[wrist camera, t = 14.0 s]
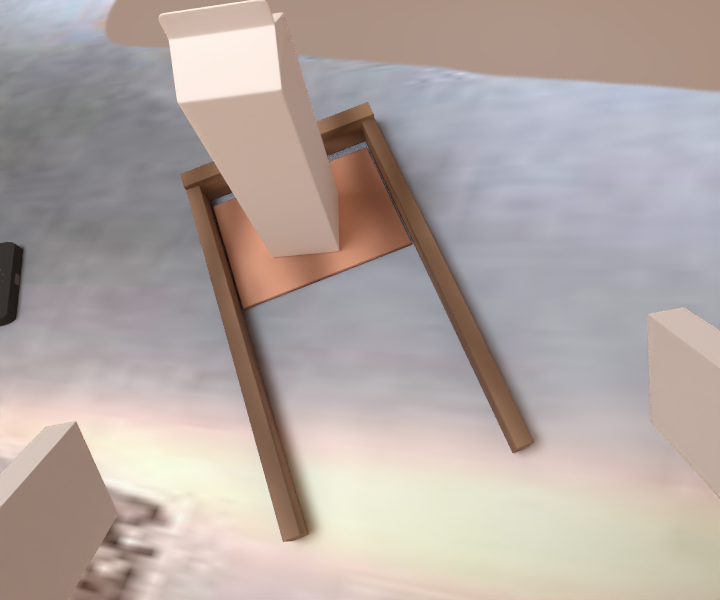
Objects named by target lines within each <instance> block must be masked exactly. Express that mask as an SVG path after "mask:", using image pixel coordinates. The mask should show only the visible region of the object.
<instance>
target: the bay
mask: <svg viewBox="0 0 720 600" xmlns="http://www.w3.org/2000/svg"><path fill="white" fill-rule="evenodd" d="M317 124H318V128H319V131H320V134H321V138H322V141H323V144H324V148H325V151H326V154H327V155H330V154H332V153H335V152H337V151H340V150H342V149H345V148H348V147H350V146H353V145H355V144H358V143H361V142H363V141H366V143H367V145H368V148H369V150H370V152H371V154H372V156H373V158H374V160H375V162H376V164H377V167H378V169H379V171H380V173H381V175H382V177H383V179H384V181H385V184H386V186H387V188H388V190H389V192H390V194H391V196H392V198H393V200H394V203H395V205H396V207H397V209H398V211H399V213H400V215H401V217H402V220H403V222H404V224H405V226H406V228H407V230H408V232H409V234H410V236H411V239H412V241H413V243H414V245H415V247H416V249H417V251H418V253H419V256H420V258H421V260H422V262H423V264H424V266H425V268H426V270H427V273H428V275H429V277H430V279H431V281H432V283H433V285H434V287H435V289H436V292H437V294H438V296H439V298H440V300H441V302H442V304H443V306H444V309H445V311H446V313H447V315H448V317H449V319H450V321H451V323H452V325H453V328H454V330H455V332H456V334H457V336H458V338H459V340H460V342H461V345H462V347H463V349H464V351H465V353H466V355H467V357H468V359H469V361H470V364H471V366H472V368H473V370H474V372H475V374H476V376H477V378H478V381H479V383H480V385H481V387H482V389H483V391H484V393H485V395H486V397H487V400H488V402H489V404H490V406H491V408H492V410H493V412H494V414H495V417H496V419H497V421H498V423H499V425H500V427H501V429H502V431H503V433H504V436H505V438H506V440H507V442H508V444H509V446H510V448H511V450H512V453H514V452H516V451H519V450H521V449H524V448H526V447H529V446H530V445H531V444H532V443H533V442H534V441H533V439H532V437H531V435H530V433H529V431H528V429H527V427H526V425H525V423H524V421H523V418H522V416H521V414H520V412H519V410H518V408H517V406H516V404H515V402H514V400H513V398H512V396H511V394H510V392H509V390H508V388H507V386H506V384H505V382H504V380H503V378H502V376H501V374H500V372H499V370H498V368H497V366H496V364H495V362H494V360H493V358H492V356H491V354H490V352H489V350H488V347H487V345H486V343H485V341H484V339H483V337H482V335H481V333H480V331H479V329H478V327H477V325H476V323H475V321H474V319H473V317H472V315H471V313H470V311H469V309H468V307H467V305H466V303H465V301H464V299H463V297H462V295H461V293H460V291H459V289H458V287H457V285H456V283H455V281H454V279H453V276H452V274H451V272H450V270H449V268H448V266H447V264H446V262H445V260H444V258H443V256H442V254H441V252H440V250H439V248H438V246H437V244H436V242H435V240H434V238H433V236H432V234H431V232H430V230H429V228H428V226H427V224H426V222H425V220H424V218H423V216H422V214H421V212H420V210H419V208H418V205H417V203H416V201H415V199H414V197H413V195H412V193H411V191H410V189H409V187H408V185H407V183H406V181H405V179H404V177H403V175H402V173H401V171H400V169H399V167H398V165H397V163H396V161H395V159H394V157H393V155H392V153H391V151H390V149H389V147H388V145H387V143H386V141H385V139H384V136H383V134H382V132H381V130H380V128H379V126H378V124H377V122H376V120H375V118H374V114H373V112H372V110H371V108H370V105H369V103H368V102H367V103H364V104H361V105H359V106H356V107H354V108H351V109H348V110H346V111H343V112H341V113H338V114H335V115H333V116H330V117H328V118H325V119H322V120H320V121H317ZM329 164H330V168H331V171H332V174H333V178H334V181H335V184H336V188H337V191H338V203H339V248H340V250H339V251H338V252H328V253H317V254H306V255H296V256H285V257H275V258H273V257H272V256H271V254H270V253H269V251H268V250H267V248H266V246H265V245H264V243H263V241H262V240H261V238H260V236H259V235H258V233H257V232H256V230H255V228H254V227H253V225H252V223H251V222H250V220H249V218H248V217H247V215H246V214H245V212H244V210H243V209H242V207H241V205H240V204H239V202H238V200H237V199H236V198H234V199H231V200H229V201H226V202H223V203H221V204H218V205H216V206H213V208H214V211H215V215H216V218H217V222H218V225H219V228H220V232H221V235H222V238H223V242H224V245H225V249H226V252H227V255H228V259H229V262H230V266H231V269H232V272H233V276H234V279H235V282H236V286H237V289H238V293H239V296H240V299H241V303H242V306H243V309H244V310H245V309H248V308H250V307H253V306H255V305H258V304H260V303H263V302H265V301H268V300H271V299H273V298H276V297H278V296H281V295H283V294H286V293H289V292H291V291H294V290H296V289H299V288H301V287H304V286H306V285H309V284H312V283H314V282H317V281H319V280H322V279H324V278H327V277H330V276H332V275H335V274H337V273H340V272H342V271H345V270H347V269H350V268H353V267H355V266H358V265H360V264H363V263H365V262H368V261H371V260H373V259H376V258H378V257H381V256H383V255H386V254H388V253H391V252H394V251H396V250H399V249H401V248H404V247H406V246H409V245H411V244H412V243H411V241H410V238H409V236H408V234H407V232H406V230H405V228H404V226H403V224H402V221H401V219H400V217H399V215H398V213H397V211H396V209H395V207H394V204H393V202H392V200H391V198H390V196H389V194H388V192H387V190H386V187H385V185H384V183H383V181H382V179H381V177H380V175H379V173H378V170H377V168H376V166H375V164H374V162H373V160H372V158H371V156H370V153H369V151H368V149H367V147H366V148H363V149H361V150H358V151H355V152H353V153H350V154H348V155H345V156H343V157H340V158H337V159H335V160H332V161H330V162H329ZM181 178H182V181H183V185H184V188H185V189H186V190H187V194H188V198H189V201H190V205H191V209H192V212H193V216H194V220H195V223H196V227H197V230H198V234H199V238H200V241H201V245H202V249H203V252H204V256H205V260H206V263H207V267H208V270H209V274H210V278H211V281H212V285H213V289H214V292H215V296H216V300H217V303H218V307H219V310H220V314H221V318H222V321H223V325H224V329H225V332H226V336H227V340H228V343H229V347H230V351H231V354H232V358H233V361H234V365H235V369H236V372H237V376H238V380H239V383H240V387H241V391H242V394H243V398H244V401H245V405H246V409H247V412H248V416H249V420H250V423H251V427H252V431H253V434H254V438H255V442H256V445H257V449H258V452H259V456H260V460H261V463H262V467H263V471H264V474H265V478H266V482H267V485H268V489H269V492H270V496H271V500H272V503H273V507H274V511H275V514H276V518H277V522H278V525H279V529H280V533H281V536H282V540H283V542H285V541H294V540H296V539H299V538H301V537H304V536H306V535H308V532H307V529H306V526H305V522H304V519H303V515H302V512H301V509H300V505H299V502H298V499H297V495H296V492H295V488H294V485H293V482H292V478H291V475H290V471H289V468H288V465H287V461H286V458H285V454H284V451H283V448H282V444H281V441H280V437H279V434H278V431H277V427H276V424H275V420H274V417H273V414H272V410H271V407H270V403H269V400H268V397H267V393H266V390H265V386H264V383H263V380H262V376H261V373H260V369H259V366H258V363H257V359H256V356H255V353H254V349H253V346H252V342H251V339H250V336H249V332H248V329H247V325H246V322H245V319H244V315H243V312H242V308H241V305H240V302H239V298H238V295H237V291H236V288H235V285H234V281H233V278H232V274H231V271H230V268H229V264H228V261H227V257H226V254H225V251H224V247H223V244H222V240H221V237H220V234H219V230H218V227H217V224H216V220H215V217H214V213H213V210H212V207H211V203H210V200H213V199H216V198H218V197H221V196H223V195H226V194H228V193H231V192H232V191H231V189H230V187H229V186H228V184H227V182H226V181H225V179H224V178H223V176H222V174H221V173H220V171H219V169H218V168H217V166H216V164H215V163H214V161H213V162H211V163H208V164H205V165H203V166H200V167H198V168H195V169H192V170H190V171H187V172H185V173H182V174H181Z"/></svg>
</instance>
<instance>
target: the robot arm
mask: <svg viewBox="0 0 720 600" xmlns="http://www.w3.org/2000/svg"><path fill="white" fill-rule="evenodd" d="M647 316H648V350H649V383H650V416H651V422H652V423H653V425H654V426H655V427H656V428H657V429H658V430H659V431H660V432H661V433H662V435H663V436H664V437H665V438H666V439H667V440H668V441H669V442H670V443H671V445H672V446H673V447H674V448H675V449H676V450H677V451H678V452H679V453H680V455H681V456H682V457H683V458H684V459H685V460H686V461H687V462H688V463H689V465H690V466H691V467H692V468H693V469H694V470H695V471H696V472H697V473H698V475H699V476H700V477H701V478H702V479H703V480H704V481H705V482H706V483H707V485H708V486H709V487H710V488H711V489H712V490H713V491H714V492H715V493H716V495H717V496H718V497H719V498H720V330H718V329H717V328H715V327H714V326H712V325H710V324H709V323H707V322H706V321H704V320H703V319H701V318H700V317H698V316H696V315H695V314H693V313H692V312H690V311H689V310H687V309H686V308H684V307H682V308H677V309H671V310H666V311H661V312H655V313H650V314H647ZM117 515H118V513H117V511H116V508H115V506H114V504H113V502H112V500H111V497H110V495H109V493H108V491H107V489H106V486H105V484H104V482H103V480H102V478H101V475H100V473H99V471H98V469H97V466H96V464H95V462H94V460H93V458H92V455H91V453H90V451H89V449H88V447H87V444H86V442H85V440H84V438H83V435H82V433H81V431H80V429H79V427H78V424H77V422H76V421H75V422H70V423H64V424H59V425H54V426H48V427H45V428H44V429H43V430H42V431H41V432H40V433H39V434H38V435H37V436H36V437H35V438H34V439H33V440H32V441H31V443H30V444H29V445H28V446H27V447H26V448H25V449H24V450H23V451H22V452H21V453H20V454H19V455H18V456H17V457H16V458H15V459H14V460H13V461H12V462H11V463H10V464H9V465H8V467H7V468H6V469H5V470H4V471H3V472H2V473H1V474H0V600H68V599H69V597H70V596H71V594H72V592H73V591H74V589H75V587H76V585H77V584H78V582H79V580H80V579H81V577H82V575H83V573H84V572H85V570H86V568H87V566H88V565H89V563H90V561H91V560H92V558H93V556H94V554H95V553H96V551H97V549H98V548H99V546H100V544H101V542H102V541H103V539H104V537H105V536H106V534H107V532H108V530H109V529H110V527H111V525H112V524H113V522H114V520H115V518H116V517H117Z"/></svg>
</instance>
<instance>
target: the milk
mask: <svg viewBox="0 0 720 600" xmlns="http://www.w3.org/2000/svg"><path fill="white" fill-rule="evenodd" d="M159 22H160V24H161V26H162V28H163V29H164V32H165V33H166V35H167V37H168V39H169V44H170V51H171V59H172V66H173V74H174V81H175V89H176V96H177V102H178V104H179V106H180V107H181V109H182V110H183V112H184V114H185V115H186V117H187V119H188V120H189V122H190V124H191V125H192V127H193V128H194V130H195V132H196V133H197V135H198V137H199V138H200V140H201V142H202V143H203V145H204V146H205V148H206V150H207V151H208V153H209V155H210V156H211V158H212V160H213V161H214V163H215V164H216V166H217V168H218V169H219V171H220V173H221V174H222V176H223V178H224V179H225V181H226V182H227V184H228V186H229V187H230V189H231V191H232V192H233V194H234V196H235V197H236V199H237V200H238V202H239V204H240V205H241V207H242V209H243V210H244V212H245V214H246V215H247V217H248V218H249V220H250V222H251V223H252V225H253V227H254V228H255V230H256V232H257V233H258V235H259V236H260V238H261V240H262V241H263V243H264V245H265V246H266V248H267V250H268V251H269V253H270V254H271V256H272V257H273V258H275V257H285V256H296V255H306V254H317V253H328V252H338V251H339V250H340V248H339V203H338V191H337V188H336V184H335V181H334V178H333V174H332V171H331V168H330V164H329V161H328V158H327V154H326V151H325V148H324V144H323V141H322V138H321V134H320V131H319V128H318V124H317V121H316V118H315V114H314V111H313V108H312V104H311V101H310V98H309V94H308V91H307V88H306V84H305V81H304V78H303V74H302V71H301V68H300V64H299V61H298V58H297V54H296V51H295V48H294V45H293V41H292V38H291V34H290V31H289V28H288V24H287V21H286V18H285V14H284V13H283V12H282V13H275V14H272V13H271V10H270V7H269V4H268V3H267V2H266V1H265V0H250V1H243V2H237V3H230V4H223V5H217V6H210V7H203V8H196V9H189V10H183V11H176V12H169V13H163V14H161V15H160V16H159Z"/></svg>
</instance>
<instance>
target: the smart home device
mask: <svg viewBox="0 0 720 600" xmlns="http://www.w3.org/2000/svg"><path fill="white" fill-rule="evenodd" d="M22 254H23V249H22V248H20V247H19V246H17V245H16V244H14V243H12V242H4V243H0V326H3V325H7V324H9V323H11V322H13V321H14V320H15V319H16V312H17V303H18V293H19V283H20V273H21V263H22Z"/></svg>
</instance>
